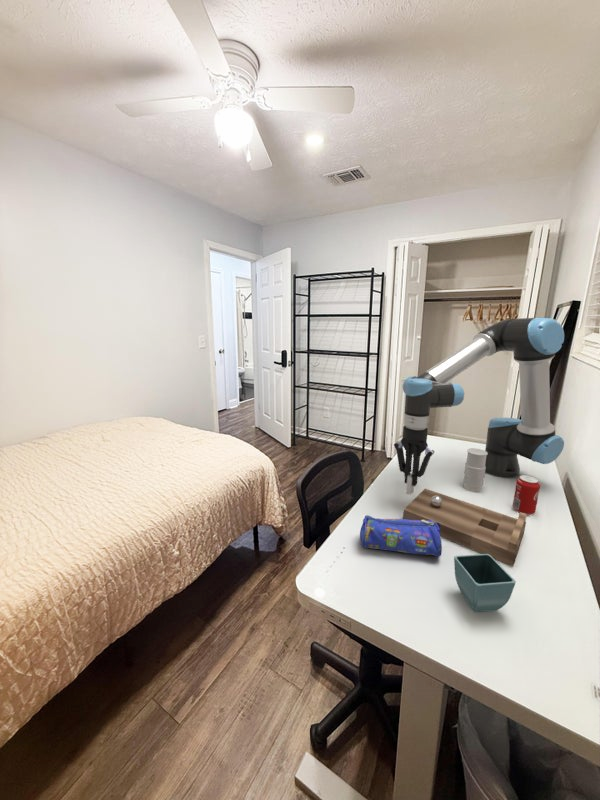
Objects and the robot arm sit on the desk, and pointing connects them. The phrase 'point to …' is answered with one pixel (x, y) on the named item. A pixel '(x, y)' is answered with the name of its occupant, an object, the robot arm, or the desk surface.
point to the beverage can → (526, 495)
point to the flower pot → (483, 582)
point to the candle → (475, 469)
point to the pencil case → (401, 535)
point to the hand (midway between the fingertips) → (409, 492)
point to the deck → (471, 525)
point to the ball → (436, 501)
